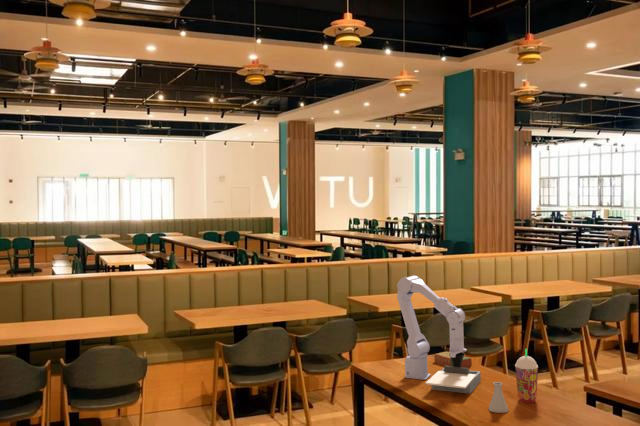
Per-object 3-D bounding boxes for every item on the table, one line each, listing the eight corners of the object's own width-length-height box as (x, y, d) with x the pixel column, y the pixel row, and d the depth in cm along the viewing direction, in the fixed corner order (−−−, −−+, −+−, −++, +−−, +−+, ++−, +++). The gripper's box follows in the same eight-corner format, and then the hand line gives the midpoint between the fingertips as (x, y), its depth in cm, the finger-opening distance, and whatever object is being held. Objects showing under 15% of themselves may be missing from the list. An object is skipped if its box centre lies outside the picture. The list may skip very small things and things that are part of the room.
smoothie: (511, 399, 246) (509, 348, 246) (528, 396, 250) (527, 345, 249) (526, 405, 239) (524, 352, 238) (543, 402, 242) (542, 349, 241)
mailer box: (431, 389, 262) (431, 379, 262) (443, 377, 278) (443, 368, 278) (470, 393, 255) (470, 383, 255) (480, 381, 271) (480, 371, 271)
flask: (509, 407, 238) (508, 381, 237) (508, 414, 231) (507, 387, 230) (489, 406, 240) (488, 379, 240) (487, 412, 233) (486, 385, 233)
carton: (446, 359, 308) (446, 350, 308) (472, 366, 295) (472, 357, 295) (434, 362, 303) (434, 353, 303) (459, 369, 290) (459, 360, 290)
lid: (425, 384, 256) (425, 376, 255) (438, 372, 272) (438, 364, 271) (465, 388, 248) (465, 380, 248) (476, 375, 264) (476, 368, 264)
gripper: (461, 342, 260) (462, 376, 260) (470, 335, 273) (471, 366, 273) (444, 341, 263) (445, 374, 263) (453, 333, 276) (454, 365, 276)
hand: (457, 370), depth 269 cm, fingers closed
